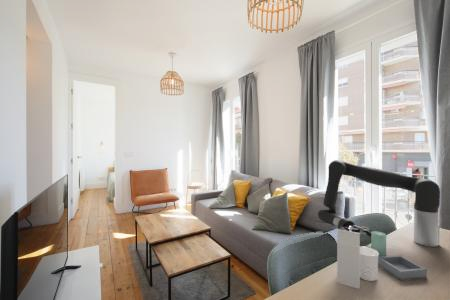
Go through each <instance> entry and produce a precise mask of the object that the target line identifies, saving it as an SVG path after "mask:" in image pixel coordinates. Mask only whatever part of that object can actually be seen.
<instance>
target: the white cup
mask: <svg viewBox="0 0 450 300" xmlns="http://www.w3.org/2000/svg"><path fill="white" fill-rule="evenodd" d="M378 259H379V253H378V252H377V251H376V250H374V249H372V248H371V247H368V246H364V245H363V246H361V245H360V279H362V280H364V281H369V282H374V281H375V282H376V281H377V278H378V271H379V266H378Z"/></svg>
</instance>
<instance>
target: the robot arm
mask: <svg viewBox="0 0 450 300" xmlns="http://www.w3.org/2000/svg"><path fill="white" fill-rule="evenodd" d="M343 176H349V177H353V178H355V179H358V180H360V181H363V182H366V183H369V184H371V185H374V186H378V187H386V188H395V189H396V188H397V189H401V190H406V191H408V192H413V193H415V198H414V204H413V241H414V242H415V243H416V244H418V245H421V246H425V247H431V248H432V247H433V248H434V247H435V248H436V247H438V246H440V239H441V237H440V235H441V233H440V230H441V229H440V228H441V227H440V226H439V208H440V204H441V203H440V202H441V189H440V186H439V185H438V183H436V181H433V180H431V179H429V178H421V177H415V176H408V175H404V174H399V173H395V172H393V171H389V170H385V169H381V168H376V167H370V166H364V165H363V166H362V165H356V164H352V163H349V162H345V161H343V160H340V159H337V160H335V159H334V160H332V161H331V162H330V163H329V164H328V178H327V185H326V190H325V194H324V198H323V203H322V204H323V206H324V207H326V208H328V209H320V210H318V212H317V217H318V219H319V220H320V221H322V222H323V223H326V224H330V225H332V227H335V228H336V229H337V230H338V229H339V230H345V231H351V232H357V233H360V236H362V235H366V236H368V237H369V238H371V232H372V229H371V228H368V227H367V226H364V225H360V226H358V225H356V224H355V222H353V221H352V220H350V219H348V218H347V217H344V216H341V215H338V214H337V211H336V209H337V208H336V205H337V200H338V197H339V196H338V194H339V186H340V182H341V179H342V177H343Z"/></svg>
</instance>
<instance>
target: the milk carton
mask: <svg viewBox="0 0 450 300" xmlns="http://www.w3.org/2000/svg"><path fill="white" fill-rule="evenodd" d="M360 233H361V232H360ZM360 233H357V232H351V231H345V230H339V229H337V241H336V246H337V247H336V248H337V252H336V255H337V256H336V257H337V259H336V260H337V261H336V262H337V264H336V267H337V268H336V271H337V272H336V275H337V277H336V278H337V279H336V280H337V283H338V284H340V285H345V286H348V287H352V288H353V289H354V288H355V289H357V290H360V286H361V284H360V282H361V281H360V280H361V278H360V246H361V243H360V242H361V234H360Z"/></svg>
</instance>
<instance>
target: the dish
mask: <svg viewBox="0 0 450 300" xmlns="http://www.w3.org/2000/svg"><path fill="white" fill-rule="evenodd" d="M379 267H380V268H381V269H382V270H384V271H385V272H387V273H389V275H392V277H395V279H398V280H399V281H401V282H403V281H404V282H405V281H411V280H412V281H414V280H425V279H426V280H427V276H428V275H427V272H428V270H427V268H425V267H423V266H421V265H419V264H417V263H416V262H414V261H412V260H410V259H408V258H406V257H404V256H403V255H397V254H396V255H386V256H383V257H379V259H378V268H379Z"/></svg>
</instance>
